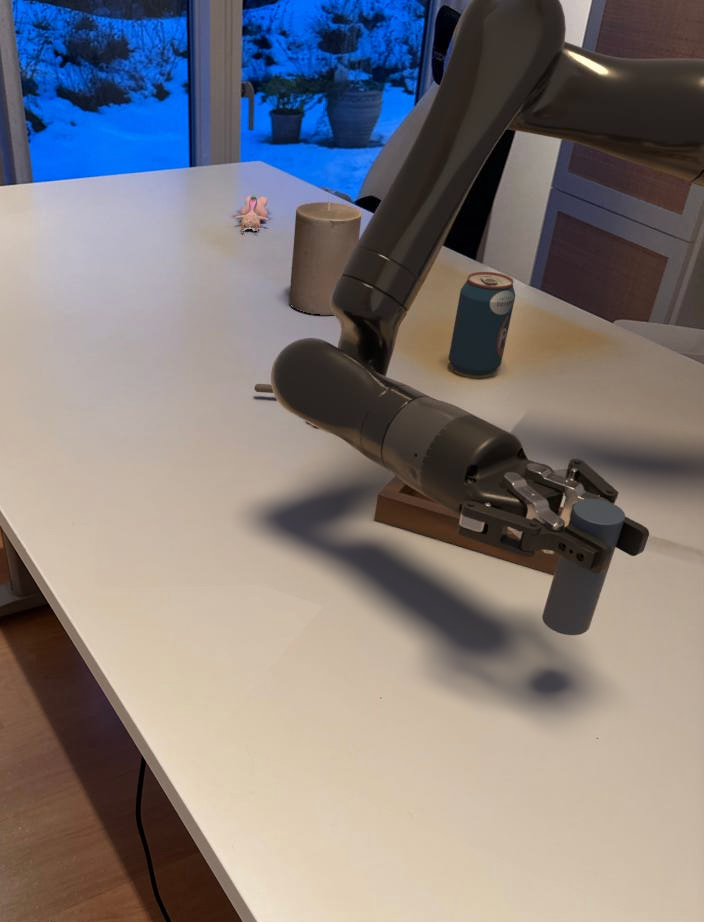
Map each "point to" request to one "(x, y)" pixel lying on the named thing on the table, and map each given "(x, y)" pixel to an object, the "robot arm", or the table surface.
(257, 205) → the rabbit figure
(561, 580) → the peg
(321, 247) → the pillar candle
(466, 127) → the robot arm
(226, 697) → the table surface
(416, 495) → the peg block
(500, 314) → the soda can
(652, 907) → the table surface
